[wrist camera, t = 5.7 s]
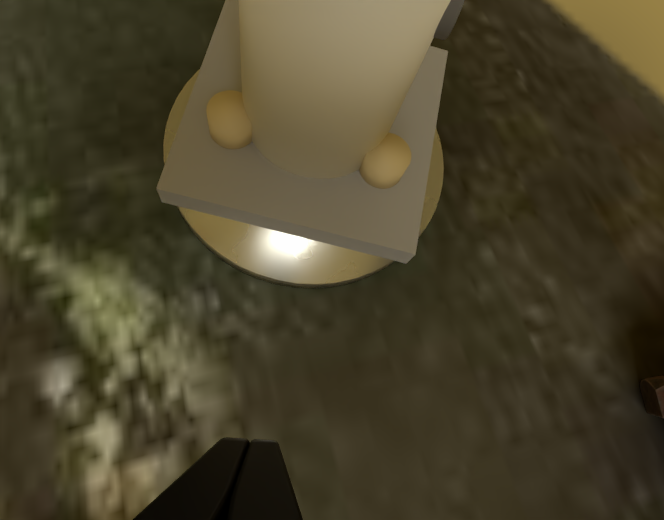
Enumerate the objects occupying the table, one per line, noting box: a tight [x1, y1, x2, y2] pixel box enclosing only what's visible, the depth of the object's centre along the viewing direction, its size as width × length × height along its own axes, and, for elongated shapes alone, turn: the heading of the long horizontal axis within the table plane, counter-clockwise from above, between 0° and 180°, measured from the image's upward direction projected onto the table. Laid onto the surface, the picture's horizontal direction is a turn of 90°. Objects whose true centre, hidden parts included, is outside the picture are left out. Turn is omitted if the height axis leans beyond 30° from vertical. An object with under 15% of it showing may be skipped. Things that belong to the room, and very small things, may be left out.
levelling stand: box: [163, 69, 444, 289], centre depth 22 cm, size 13×13×2 cm
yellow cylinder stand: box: [156, 0, 464, 263], centre depth 16 cm, size 10×10×11 cm
